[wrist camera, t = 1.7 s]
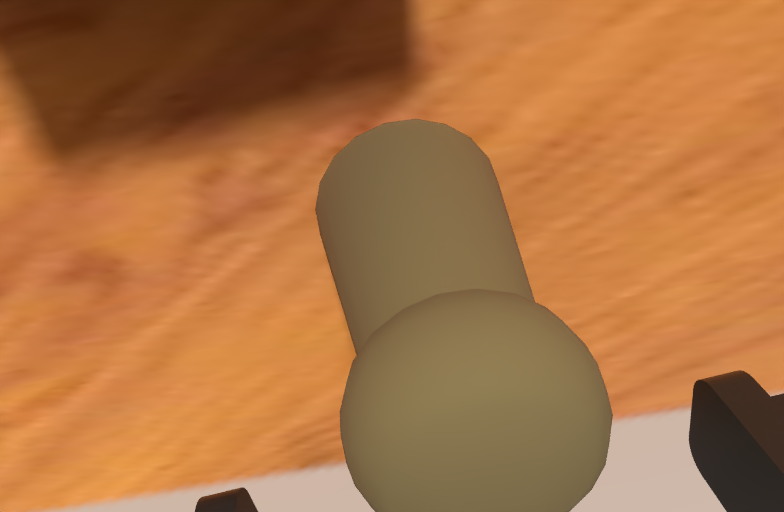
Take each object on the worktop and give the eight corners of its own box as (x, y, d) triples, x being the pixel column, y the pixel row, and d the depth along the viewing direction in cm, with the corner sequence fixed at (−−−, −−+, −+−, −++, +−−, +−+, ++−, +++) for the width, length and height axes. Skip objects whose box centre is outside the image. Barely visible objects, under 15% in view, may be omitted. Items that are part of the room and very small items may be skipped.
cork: (382, 314, 22) (435, 630, 12) (276, 190, 19) (241, 481, 10) (529, 226, 21) (711, 504, 11) (441, 79, 18) (586, 288, 8)
